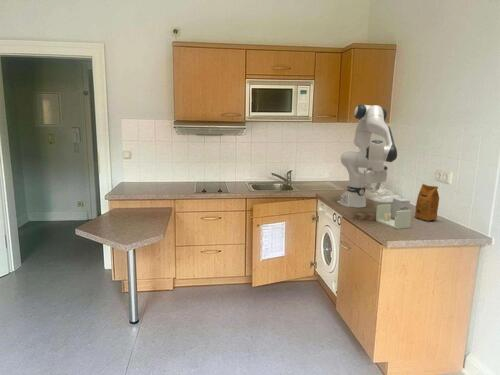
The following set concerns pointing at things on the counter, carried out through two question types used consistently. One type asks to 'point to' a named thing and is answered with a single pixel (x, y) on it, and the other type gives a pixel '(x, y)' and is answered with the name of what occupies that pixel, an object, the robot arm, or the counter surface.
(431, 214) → the coffee package
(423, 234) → the counter surface
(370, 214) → the brown wooden block
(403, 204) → the supplement box
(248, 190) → the counter surface
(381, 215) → the pegged wall bracket
